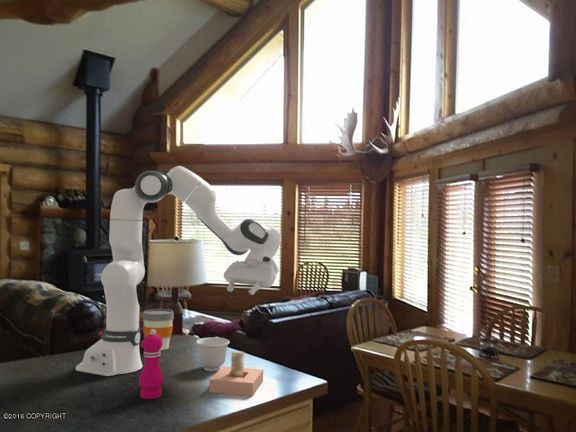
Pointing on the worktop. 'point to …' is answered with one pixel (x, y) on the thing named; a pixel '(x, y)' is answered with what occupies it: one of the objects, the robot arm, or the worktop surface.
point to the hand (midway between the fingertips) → (239, 291)
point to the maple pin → (237, 364)
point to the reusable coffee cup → (159, 324)
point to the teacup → (212, 352)
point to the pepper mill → (151, 367)
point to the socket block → (236, 382)
